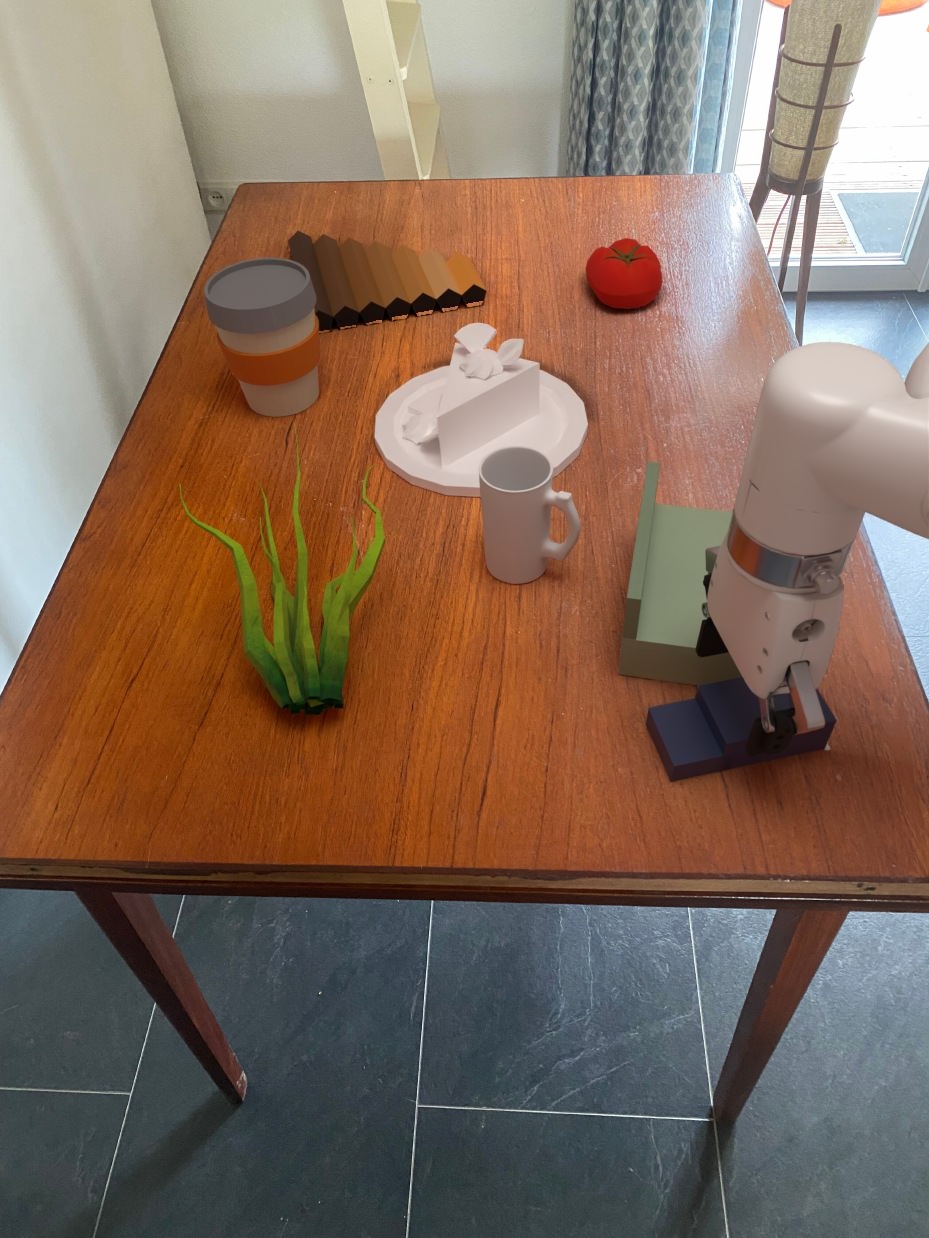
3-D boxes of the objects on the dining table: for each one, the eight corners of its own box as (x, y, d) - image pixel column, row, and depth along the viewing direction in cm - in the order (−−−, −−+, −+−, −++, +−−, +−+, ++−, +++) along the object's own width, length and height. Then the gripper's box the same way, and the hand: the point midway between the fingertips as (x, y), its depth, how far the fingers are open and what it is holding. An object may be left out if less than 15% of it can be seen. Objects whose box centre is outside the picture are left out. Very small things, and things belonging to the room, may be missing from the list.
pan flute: (290, 253, 140) (309, 335, 123) (286, 232, 137) (305, 312, 121) (447, 228, 143) (487, 304, 126) (446, 207, 140) (486, 281, 124)
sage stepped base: (759, 553, 90) (779, 474, 83) (756, 694, 79) (780, 616, 71) (638, 539, 93) (647, 461, 85) (617, 674, 81) (626, 597, 74)
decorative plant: (421, 511, 98) (408, 394, 87) (344, 736, 78) (315, 621, 67) (263, 497, 100) (232, 381, 90) (151, 709, 81) (94, 595, 70)
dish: (439, 354, 118) (433, 271, 110) (619, 398, 109) (627, 312, 101) (334, 460, 104) (317, 374, 96) (531, 521, 95) (531, 433, 87)
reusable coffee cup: (278, 358, 120) (253, 248, 108) (353, 384, 115) (334, 271, 103) (212, 407, 113) (178, 294, 102) (289, 436, 108) (261, 321, 97)
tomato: (602, 322, 121) (605, 275, 117) (577, 283, 129) (579, 238, 124) (671, 310, 123) (676, 263, 118) (642, 273, 130) (646, 228, 125)
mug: (470, 572, 91) (464, 477, 82) (504, 532, 94) (501, 437, 86) (560, 607, 87) (564, 512, 78) (591, 564, 91) (598, 468, 82)
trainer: (793, 702, 78) (808, 661, 74) (826, 759, 74) (844, 720, 70) (637, 735, 76) (643, 695, 72) (662, 795, 72) (670, 757, 68)
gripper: (916, 624, 52) (837, 782, 65) (784, 446, 64) (739, 610, 77) (794, 647, 52) (738, 803, 64) (683, 463, 63) (654, 626, 76)
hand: (738, 698), depth 70 cm, fingers open, 9 cm apart
